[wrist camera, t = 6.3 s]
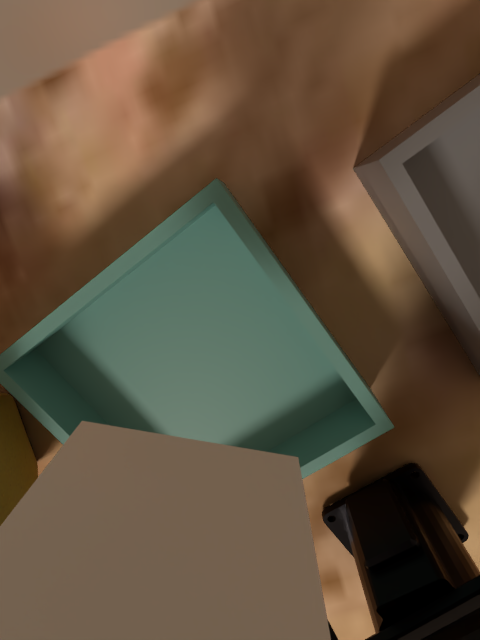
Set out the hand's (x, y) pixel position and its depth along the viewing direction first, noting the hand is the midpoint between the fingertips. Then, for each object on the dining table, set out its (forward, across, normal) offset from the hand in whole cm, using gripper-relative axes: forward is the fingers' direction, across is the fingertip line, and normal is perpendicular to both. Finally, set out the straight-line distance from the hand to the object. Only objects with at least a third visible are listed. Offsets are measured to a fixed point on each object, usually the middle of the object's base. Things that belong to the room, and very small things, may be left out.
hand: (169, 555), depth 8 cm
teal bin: (+12, +1, +1) cm, 12 cm away
